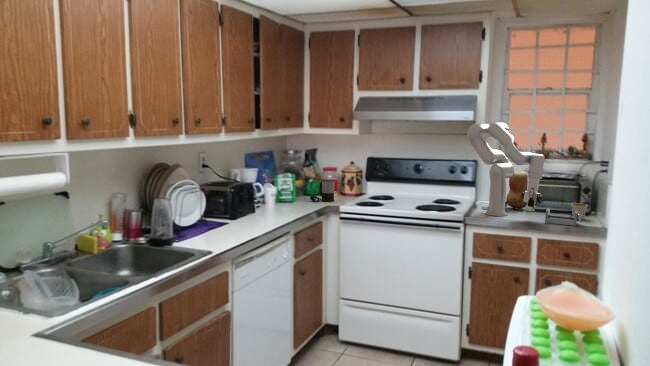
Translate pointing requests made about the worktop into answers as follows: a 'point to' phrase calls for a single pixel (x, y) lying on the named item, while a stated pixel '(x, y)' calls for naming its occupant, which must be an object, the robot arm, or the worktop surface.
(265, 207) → the worktop surface
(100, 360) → the worktop surface
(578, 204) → the flower pot
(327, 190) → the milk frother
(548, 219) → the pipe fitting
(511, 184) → the butternut squash
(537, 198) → the pneumatic valve
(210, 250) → the worktop surface
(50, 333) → the worktop surface
